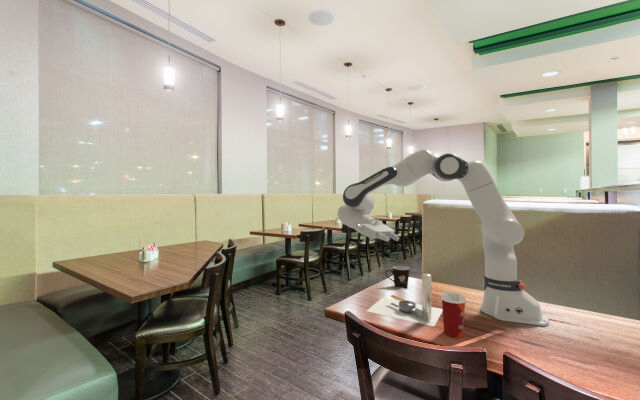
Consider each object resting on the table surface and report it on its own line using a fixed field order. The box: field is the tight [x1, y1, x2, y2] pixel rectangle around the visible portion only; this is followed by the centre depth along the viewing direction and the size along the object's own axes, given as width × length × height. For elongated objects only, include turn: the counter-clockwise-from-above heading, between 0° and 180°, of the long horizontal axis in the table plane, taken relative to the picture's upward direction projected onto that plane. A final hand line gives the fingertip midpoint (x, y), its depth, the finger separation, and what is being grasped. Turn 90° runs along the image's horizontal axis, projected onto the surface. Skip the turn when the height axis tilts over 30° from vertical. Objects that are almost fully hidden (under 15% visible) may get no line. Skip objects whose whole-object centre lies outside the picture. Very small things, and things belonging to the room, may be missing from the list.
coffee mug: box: [384, 265, 410, 290], centre depth 152 cm, size 12×9×10 cm
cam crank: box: [390, 273, 432, 320], centre depth 115 cm, size 21×6×17 cm, turn 27°
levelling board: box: [366, 297, 443, 327], centre depth 117 cm, size 26×19×2 cm
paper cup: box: [440, 291, 467, 339], centre depth 97 cm, size 8×8×14 cm
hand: (393, 239), depth 121 cm, fingers open, 8 cm apart
